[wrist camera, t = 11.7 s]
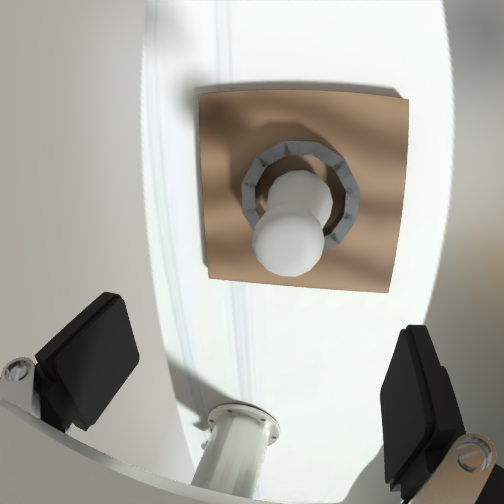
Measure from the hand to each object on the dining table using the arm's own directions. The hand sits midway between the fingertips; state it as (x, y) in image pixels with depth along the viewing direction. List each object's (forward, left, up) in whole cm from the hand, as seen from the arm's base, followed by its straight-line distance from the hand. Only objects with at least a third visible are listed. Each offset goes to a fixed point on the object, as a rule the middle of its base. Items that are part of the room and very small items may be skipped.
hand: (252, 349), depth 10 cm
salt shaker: (0, 0, -22) cm, 22 cm away
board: (0, 0, -23) cm, 23 cm away
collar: (0, 0, -22) cm, 22 cm away
